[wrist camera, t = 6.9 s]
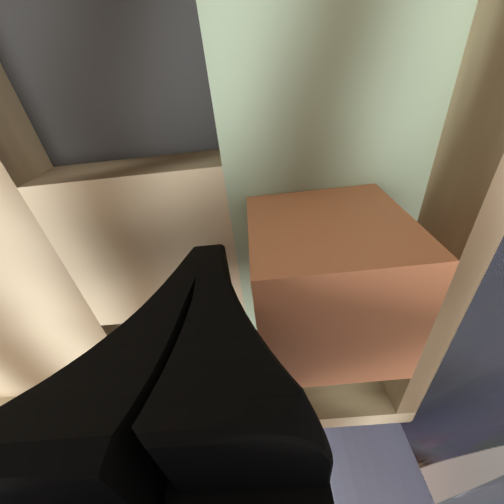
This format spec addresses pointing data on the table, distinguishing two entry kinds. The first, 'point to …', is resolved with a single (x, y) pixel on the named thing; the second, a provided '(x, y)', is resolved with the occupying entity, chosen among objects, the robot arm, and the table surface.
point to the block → (344, 283)
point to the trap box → (232, 154)
